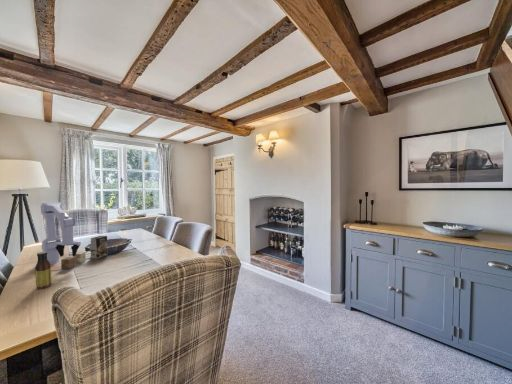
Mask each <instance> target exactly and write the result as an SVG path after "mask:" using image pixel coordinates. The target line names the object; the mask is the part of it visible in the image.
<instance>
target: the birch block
mask: <svg viewBox="0 0 512 384" xmlns="http://www.w3.org/2000/svg"><path fill="white" fill-rule="evenodd" d="M72 257H75V264H81V263H83V262H85V260H86V251H77V253H76V255H75V256H73V255H72Z"/></svg>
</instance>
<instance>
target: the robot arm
mask: <svg viewBox="0 0 512 384" xmlns="http://www.w3.org/2000/svg"><path fill="white" fill-rule="evenodd" d="M62 206H63V205H62V203H61V202H60V201H59V202H42V203H41V205H40V213H41V215H42V216H44V220H45V230H46V238H45V239H43V240H42V241H41V251H42V252H45V251H46V252H47V260H48V261H49V262H50V265H55V264H57V263H59V262H61V259H60V258H61V257H64V255H65V253H64V252H65V246H70V248H71V252H72V253H71V254H72V255H71V256H72V257H73V256H75V255H76V253H77V252H78V249H79V248H80V246H81V241H74V226H76V225H75V224H76V219H75V218H74V217H70V216H69V215H68V214H67V212H64V211H63V209H62V208H63V207H62ZM55 215H56V219H57V221H59V225H60V230H61V238H60V237H59V236H57V232H56V221H55Z"/></svg>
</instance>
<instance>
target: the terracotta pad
mask: <svg viewBox="0 0 512 384" xmlns="http://www.w3.org/2000/svg"><path fill="white" fill-rule="evenodd" d="M50 267H51V271H59V270H61V266H56V265H53V266H50Z"/></svg>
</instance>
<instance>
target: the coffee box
mask: <svg viewBox="0 0 512 384" xmlns="http://www.w3.org/2000/svg"><path fill="white" fill-rule="evenodd" d="M103 248H107V249H108V236H107V235H97V236H95V237H91V238H90V259H96V260H97V259H100V258H103V257H105V256H108V253H107V254H106V253H105V252H104V251H102V250H101V249H103Z"/></svg>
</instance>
